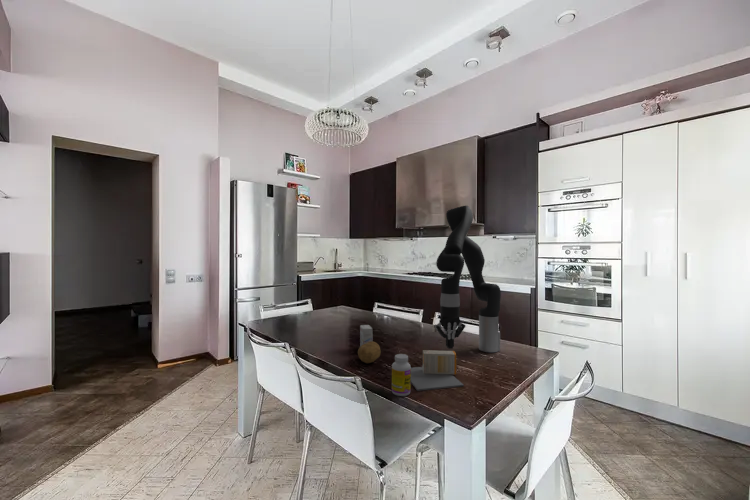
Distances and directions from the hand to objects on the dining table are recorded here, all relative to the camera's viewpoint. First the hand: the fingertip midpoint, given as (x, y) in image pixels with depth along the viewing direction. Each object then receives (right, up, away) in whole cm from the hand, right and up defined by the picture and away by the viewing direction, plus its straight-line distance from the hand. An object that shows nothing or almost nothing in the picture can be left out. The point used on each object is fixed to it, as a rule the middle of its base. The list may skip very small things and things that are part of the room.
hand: (449, 348), depth 127 cm
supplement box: (+3, -7, +2) cm, 7 cm away
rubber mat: (-8, -11, -2) cm, 14 cm away
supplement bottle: (-20, -11, -15) cm, 28 cm away
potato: (-32, -11, +15) cm, 38 cm away
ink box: (-34, -11, +31) cm, 48 cm away
